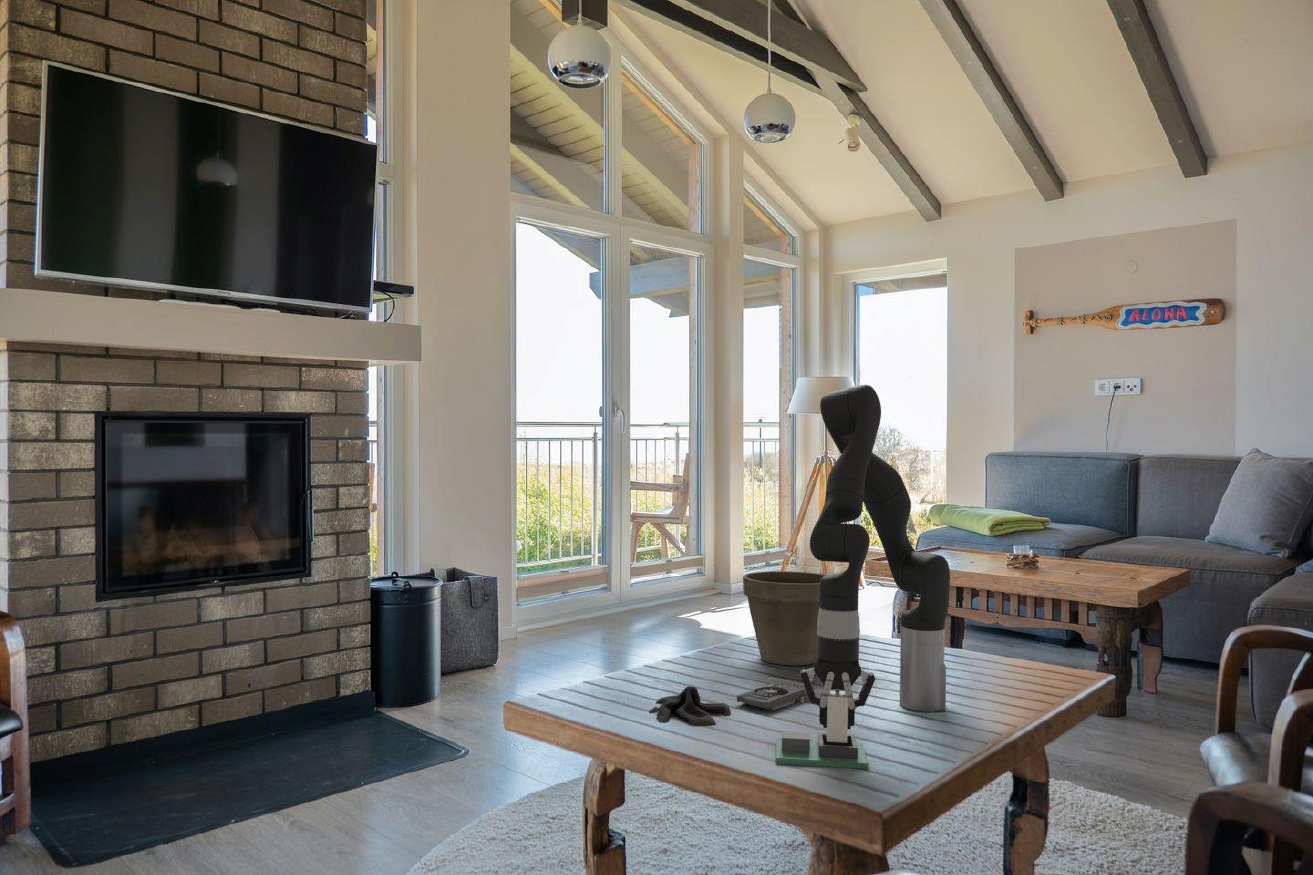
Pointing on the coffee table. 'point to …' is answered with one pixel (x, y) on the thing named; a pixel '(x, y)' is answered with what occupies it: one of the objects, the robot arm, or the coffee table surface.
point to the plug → (837, 716)
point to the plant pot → (784, 615)
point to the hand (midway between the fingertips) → (836, 727)
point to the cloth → (689, 708)
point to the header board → (819, 751)
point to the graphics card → (775, 695)
